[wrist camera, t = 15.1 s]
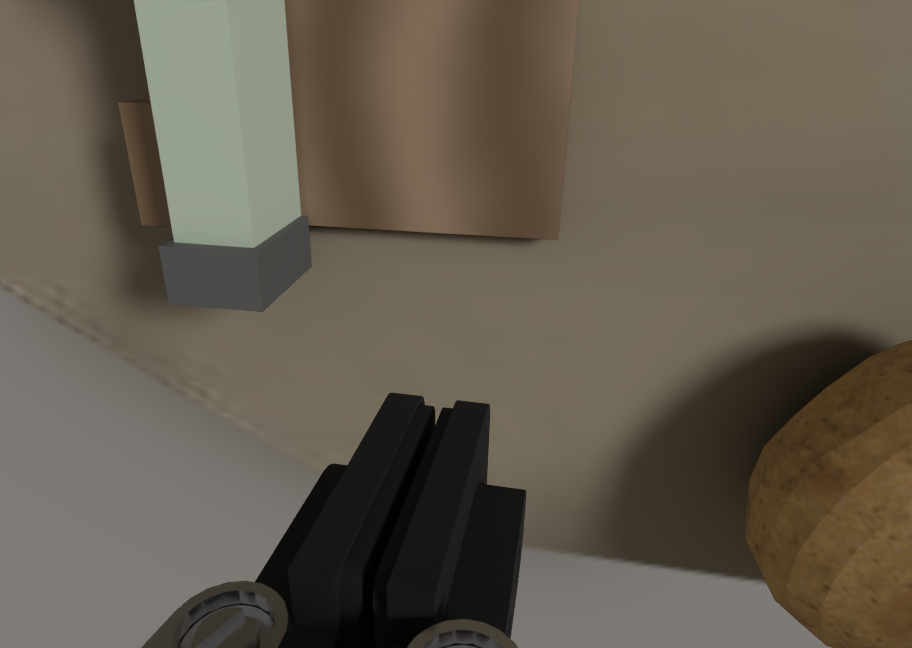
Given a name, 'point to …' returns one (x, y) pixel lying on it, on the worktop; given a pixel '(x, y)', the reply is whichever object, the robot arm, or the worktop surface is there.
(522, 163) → the stool seat
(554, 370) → the worktop surface
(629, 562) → the worktop surface
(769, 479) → the potato
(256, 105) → the leg
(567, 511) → the worktop surface
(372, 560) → the robot arm
